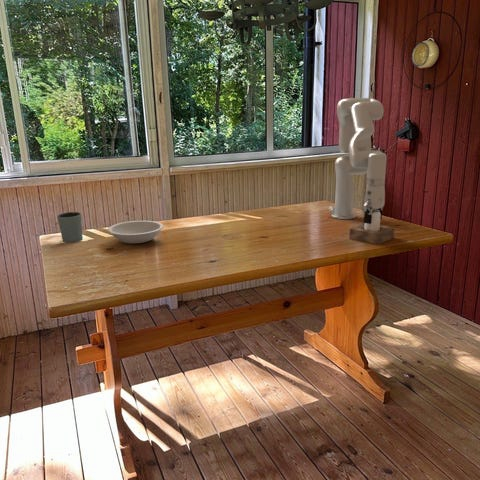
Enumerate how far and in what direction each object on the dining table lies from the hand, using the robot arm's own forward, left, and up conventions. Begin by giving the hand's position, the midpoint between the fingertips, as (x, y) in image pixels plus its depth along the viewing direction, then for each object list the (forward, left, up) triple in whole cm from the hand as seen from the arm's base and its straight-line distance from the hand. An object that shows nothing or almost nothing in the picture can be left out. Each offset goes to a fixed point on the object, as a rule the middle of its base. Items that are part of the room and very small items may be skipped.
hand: (372, 221), depth 197 cm
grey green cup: (-100, -89, -8) cm, 134 cm away
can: (0, 0, -7) cm, 7 cm away
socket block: (0, 0, -8) cm, 8 cm away
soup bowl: (-76, -71, -8) cm, 104 cm away
